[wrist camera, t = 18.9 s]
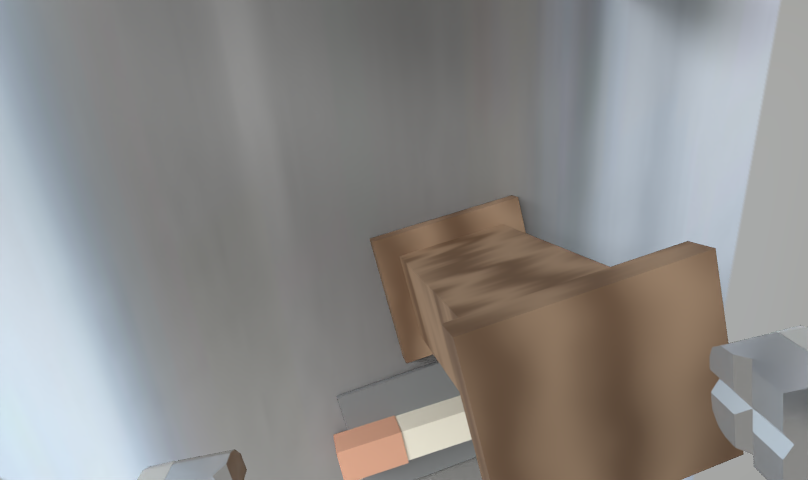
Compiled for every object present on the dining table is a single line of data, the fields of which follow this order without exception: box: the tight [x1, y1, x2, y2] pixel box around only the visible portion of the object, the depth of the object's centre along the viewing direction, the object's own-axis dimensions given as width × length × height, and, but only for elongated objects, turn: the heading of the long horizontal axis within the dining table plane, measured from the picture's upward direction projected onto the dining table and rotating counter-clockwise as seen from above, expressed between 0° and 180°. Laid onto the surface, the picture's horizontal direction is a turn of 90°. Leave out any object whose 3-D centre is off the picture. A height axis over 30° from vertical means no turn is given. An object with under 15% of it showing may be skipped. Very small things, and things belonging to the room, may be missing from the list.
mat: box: [337, 361, 476, 480], centre depth 56 cm, size 22×11×1 cm, turn 105°
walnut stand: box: [370, 195, 743, 480], centre depth 41 cm, size 14×12×26 cm
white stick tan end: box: [333, 396, 472, 480], centre depth 54 cm, size 24×3×3 cm, turn 103°
